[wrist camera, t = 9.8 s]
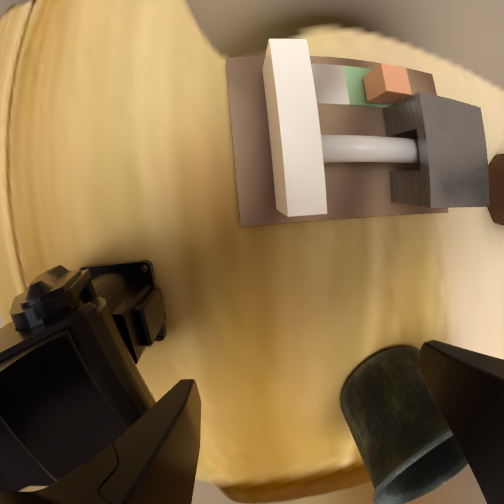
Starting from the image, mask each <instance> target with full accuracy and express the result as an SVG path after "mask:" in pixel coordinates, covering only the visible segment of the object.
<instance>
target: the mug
mask: <svg viewBox="0 0 504 504" xmlns="http://www.w3.org/2000/svg"><path fill="white" fill-rule="evenodd" d="M420 351H421V350H419V349H417V348H413V347H397V348H392V349H388V350H386V351H383V352H381V353H379V354H377V355H375V356H373V357H372V358H370V359H369V360H367V361H366V362H365V363H363V364H362V365H361V366H360V367H359V368H358V369H357V370H356V371H355V372H354V373H353V375H352V376H351V377H350V379H349V380H348V382H347V383H346V386H345V388H344V390H343V393H342V397H341V410H342V412H343V414H344V417H345V419H346V421H347V424H348V426H349V428H350V431H351V433H352V435H353V438H354V440H355V442H356V445H357V447H358V450H359V452H360V454H361V457H362V459H363V461H364V464H365V466H366V469H367V471H368V473H369V476H370V478H371V481H372V483H373V486H374V488H375V491H374V493H373V501H374V502H375V503H376V504H403V503H406V502H409V501H412V500H414V499H416V498H419V497H421V496H423V495H425V494H427V493H429V492H431V491H433V490H434V489H436V488H438V487H439V486H441V485H442V484H444V483H445V482H447V481H448V480H450V479H451V478H452V477H453V476H455V475H456V474H457V473H459V472H460V471H461V470H462V469H463V468H464V467H465V466H466V465H467V464H468V462H467V460H466V458H465V456H464V454H463V452H462V450H461V448H460V446H459V444H458V443H457V441H456V439H455V437H454V435H453V433H452V432H451V430H450V428H449V426H448V424H447V423H446V421H445V419H444V417H443V416H442V414H441V412H440V411H439V409H438V407H437V406H436V404H435V402H434V400H433V398H432V396H431V394H430V392H429V389H428V387H427V385H426V383H425V381H424V379H423V377H422V375H421V372H420V370H419V368H418V360H419V356H420Z"/></svg>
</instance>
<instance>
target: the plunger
mask: <svg viewBox="0 0 504 504" xmlns="http://www.w3.org/2000/svg"><path fill="white" fill-rule="evenodd" d="M263 78H264V87H265V96H266V105H267V114H268V124H269V134H270V144H271V154H272V165H273V176H274V188H275V200H276V210H278V211H279V212H281V213H283V214H284V215H286V216H287V217H292V216H305V215H318V214H327V201H326V186H325V173H324V162H393V163H417V162H418V161H419V159H420V154H419V144H418V141H417V140H415V139H408V138H396V137H381V136H360V135H321V132H320V123H319V115H318V108H317V100H316V93H315V86H314V80H313V73H312V67H311V62H310V56H309V50H308V45H307V40H306V39H269V42H268V46H267V51H266V56H265V60H264V65H263Z"/></svg>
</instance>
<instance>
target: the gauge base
mask: <svg viewBox="0 0 504 504" xmlns="http://www.w3.org/2000/svg"><path fill="white" fill-rule="evenodd" d="M264 60H265V56H249V57H235V58H226V69H227V81H228V92H229V104H230V115H231V127H232V138H233V149H234V160H235V171H236V181H237V192H238V203H239V213H240V223H241V227H249V226H260V225H270V224H282V223H293V222H305V221H318V220H331V219H344V218H358V217H373V216H389V215H406V214H425V213H446V212H448V208H427V207H421V206H415V205H409V204H402V203H396V202H391V192H390V175H389V172H397V171H421V166H420V159H419V161H418V162H417V163H393V162H324V173H325V186H326V201H327V214H318V215H305V216H292V217H287V216H286V215H284V214H283V213H281V212H279V211H278V210H276V200H275V188H274V176H273V165H272V154H271V144H270V134H269V124H268V114H267V105H266V96H265V87H264V78H263V65H264ZM310 62H311V67H312V73H313V80H314V86H315V93H316V100H317V108H318V115H319V123H320V132H321V135H360V136H381V137H386V133H385V125H384V118H383V111H382V109H383V108H385V107H387V106H389V104H380V103H370V102H367V98H366V92H365V87H364V81H363V77H364V76H365V75H367V74H368V73H369V72H370V71H372V70H373V69H374V68H375V67H377V66H378V65H379V64H380V63H376V62H369V61H362V60H354V59H345V58H334V57H320V56H310ZM406 70H407V74H408V79H409V83H410V88H411V93H412V95H413V94H415V93H417V92H422V93H427V94H432V95H436V96H437V94H436V89H435V85H434V81H433V76H432V74H429V73H425V72H421V71H416V70H412V69H408V68H406ZM410 96H411V95H410ZM397 102H398V101H397ZM395 103H396V102H395ZM415 140H416V139H415ZM417 141H418V140H417Z"/></svg>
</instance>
